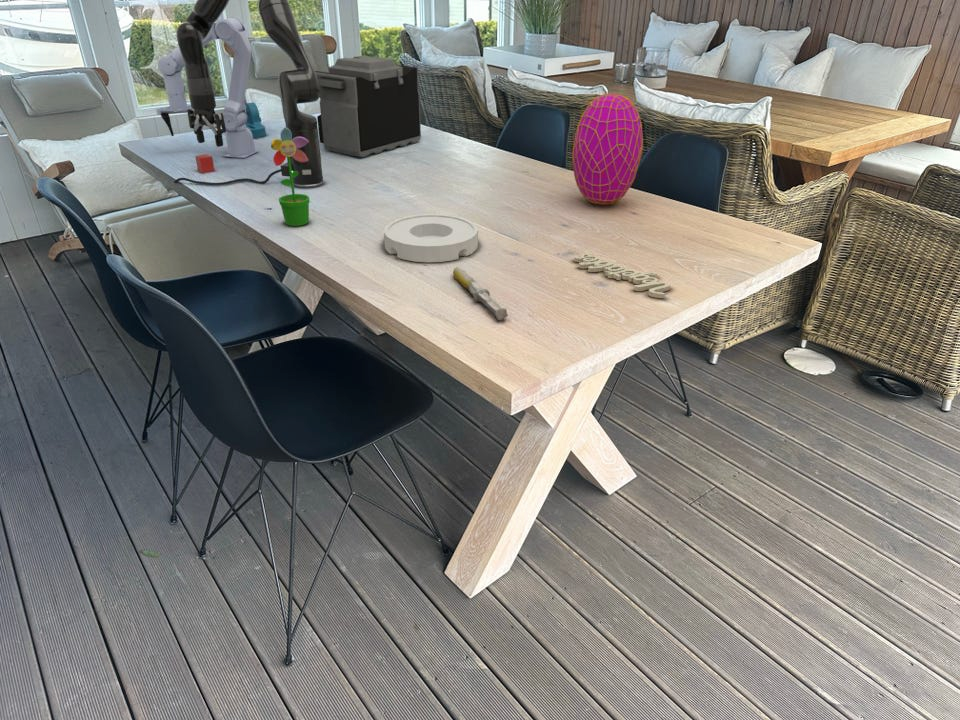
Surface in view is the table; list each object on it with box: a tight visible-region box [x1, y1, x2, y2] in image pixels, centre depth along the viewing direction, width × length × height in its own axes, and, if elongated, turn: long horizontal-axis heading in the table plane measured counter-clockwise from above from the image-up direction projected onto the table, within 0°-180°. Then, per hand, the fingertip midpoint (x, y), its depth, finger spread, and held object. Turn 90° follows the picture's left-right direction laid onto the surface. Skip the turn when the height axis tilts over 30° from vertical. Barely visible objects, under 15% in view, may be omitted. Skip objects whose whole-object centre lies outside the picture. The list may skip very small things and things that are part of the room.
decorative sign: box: [574, 252, 671, 299], centre depth 155 cm, size 26×1×10 cm
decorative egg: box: [571, 92, 644, 205], centre depth 194 cm, size 19×19×30 cm
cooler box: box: [314, 55, 422, 159], centre depth 250 cm, size 37×22×30 cm, turn 144°
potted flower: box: [270, 127, 310, 227], centre depth 177 cm, size 9×8×25 cm
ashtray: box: [383, 213, 479, 263], centre depth 170 cm, size 23×23×4 cm
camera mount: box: [244, 102, 267, 139], centre depth 271 cm, size 18×10×10 cm, turn 35°
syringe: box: [452, 266, 509, 321], centre depth 145 cm, size 25×4×3 cm, turn 21°
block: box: [194, 153, 215, 174], centre depth 225 cm, size 4×4×5 cm
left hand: (184, 134), depth 242 cm, fingers open, 7 cm apart
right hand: (210, 144), depth 224 cm, fingers open, 8 cm apart
